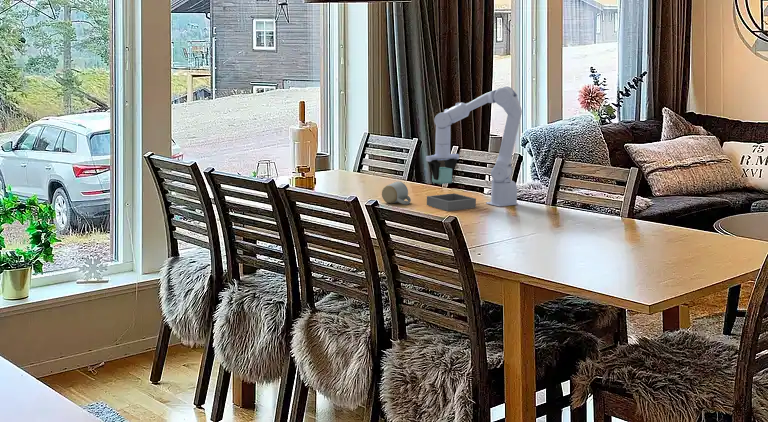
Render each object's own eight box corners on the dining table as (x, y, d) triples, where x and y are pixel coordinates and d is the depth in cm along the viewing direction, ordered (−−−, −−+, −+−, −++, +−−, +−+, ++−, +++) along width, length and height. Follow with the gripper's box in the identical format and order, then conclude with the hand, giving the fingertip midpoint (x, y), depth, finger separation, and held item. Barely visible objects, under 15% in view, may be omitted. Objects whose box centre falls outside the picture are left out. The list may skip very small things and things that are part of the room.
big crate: (454, 202, 361) (454, 193, 360) (475, 207, 350) (475, 198, 350) (426, 205, 354) (426, 196, 353) (447, 211, 343) (448, 201, 343)
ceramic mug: (380, 202, 358) (380, 183, 356) (391, 199, 365) (392, 180, 363) (403, 206, 352) (404, 186, 351) (415, 203, 359) (415, 183, 358)
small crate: (443, 181, 367) (443, 167, 366) (451, 182, 363) (452, 168, 362) (432, 182, 364) (432, 168, 363) (440, 184, 360) (440, 169, 359)
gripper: (451, 141, 368) (450, 176, 371) (421, 143, 360) (420, 178, 363) (462, 143, 362) (461, 178, 365) (432, 145, 354) (431, 181, 357)
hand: (442, 178), depth 363 cm, fingers closed on small crate, 5 cm apart
